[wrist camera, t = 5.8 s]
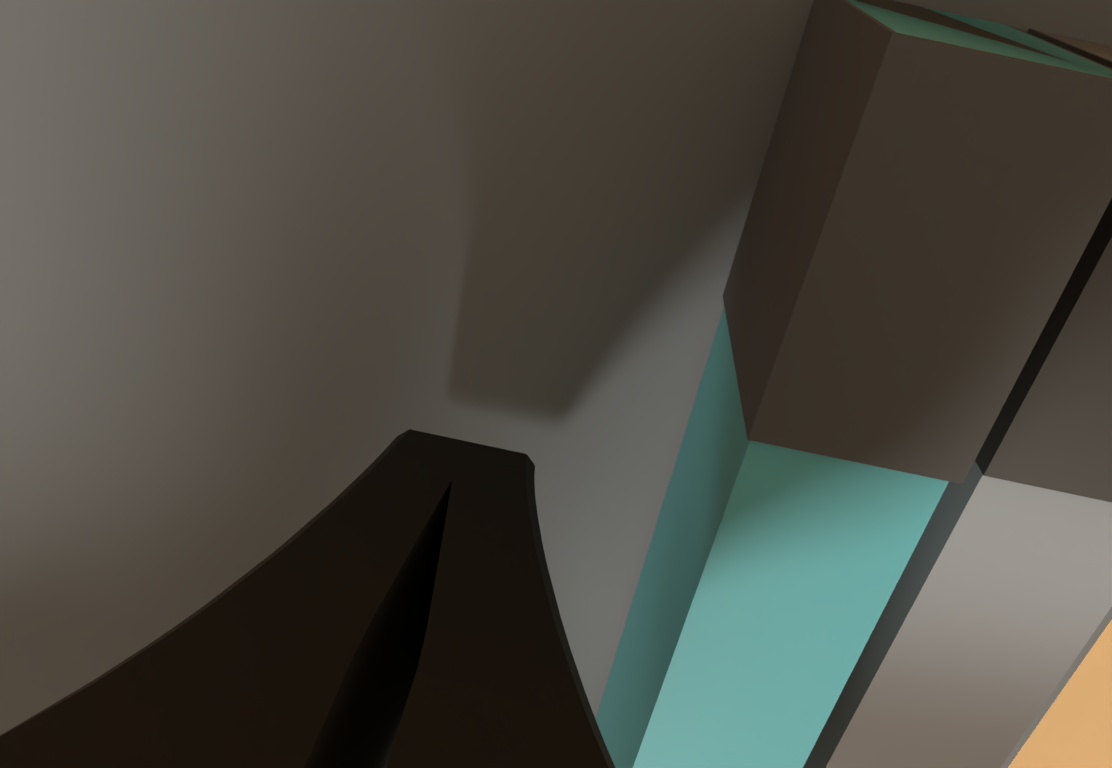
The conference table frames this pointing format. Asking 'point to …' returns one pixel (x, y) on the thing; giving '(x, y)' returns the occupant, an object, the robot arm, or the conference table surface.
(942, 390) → the bar
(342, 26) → the mat
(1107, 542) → the tongs base
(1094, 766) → the conference table surface
